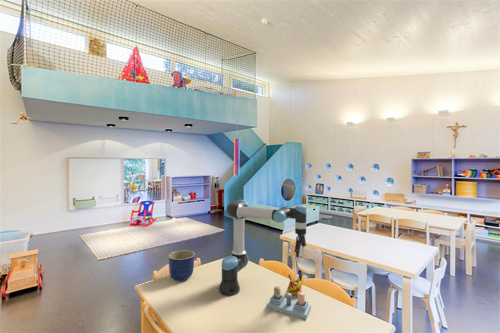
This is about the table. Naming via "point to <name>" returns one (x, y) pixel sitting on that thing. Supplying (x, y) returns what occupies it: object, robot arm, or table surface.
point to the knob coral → (301, 298)
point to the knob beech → (277, 293)
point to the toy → (294, 286)
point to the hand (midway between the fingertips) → (300, 258)
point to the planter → (181, 264)
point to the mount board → (289, 307)
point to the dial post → (288, 299)
